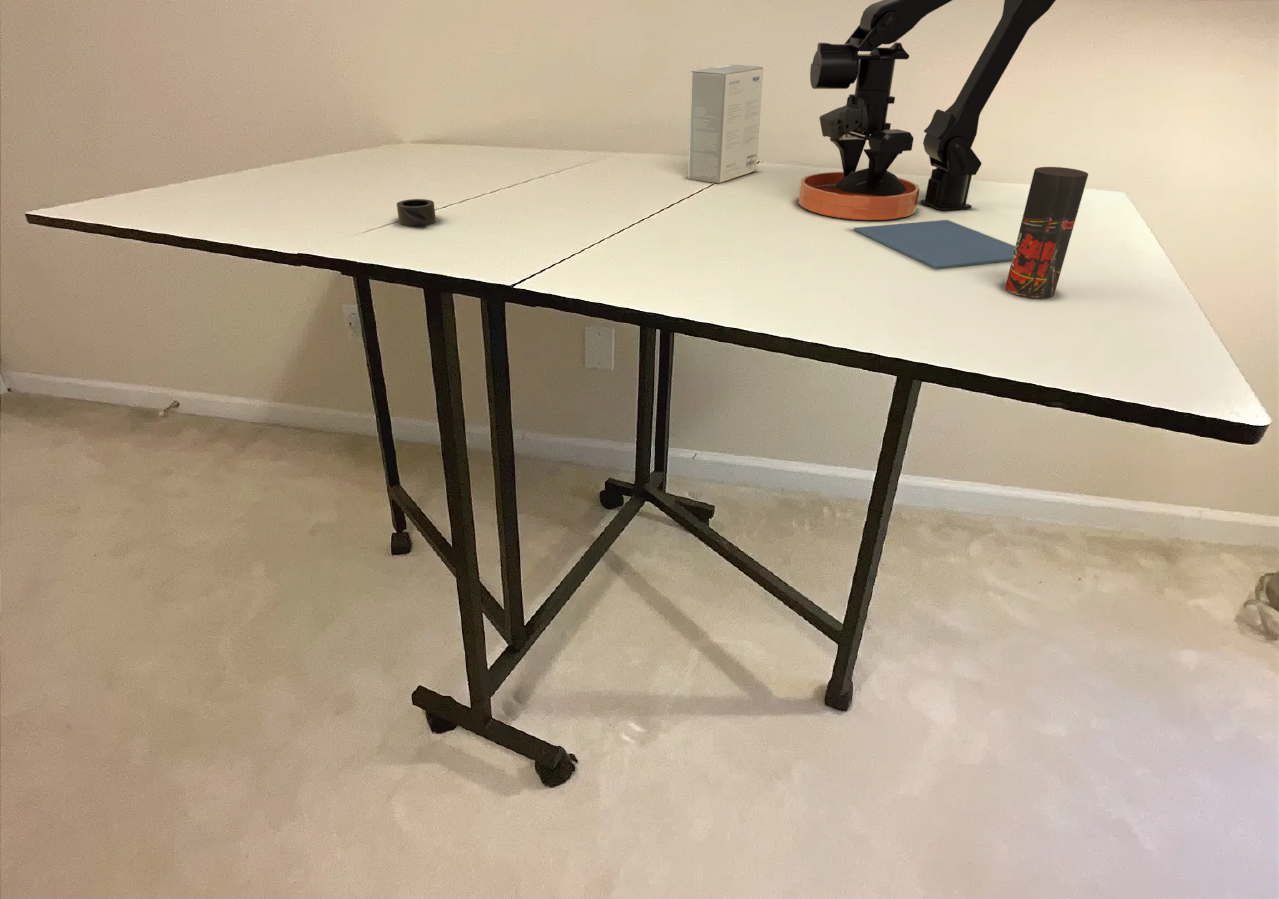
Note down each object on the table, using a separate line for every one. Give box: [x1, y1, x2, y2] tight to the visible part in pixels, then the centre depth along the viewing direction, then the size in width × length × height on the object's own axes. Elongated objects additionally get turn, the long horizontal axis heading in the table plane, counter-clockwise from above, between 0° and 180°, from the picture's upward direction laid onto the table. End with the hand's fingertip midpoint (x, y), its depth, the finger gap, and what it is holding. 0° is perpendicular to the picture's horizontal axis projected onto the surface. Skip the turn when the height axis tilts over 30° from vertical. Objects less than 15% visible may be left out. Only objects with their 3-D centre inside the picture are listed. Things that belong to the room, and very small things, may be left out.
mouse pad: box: [853, 219, 1016, 270], centre depth 124 cm, size 18×21×1 cm
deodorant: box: [1004, 166, 1089, 300], centre depth 101 cm, size 6×6×15 cm
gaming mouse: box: [819, 167, 906, 196], centre depth 141 cm, size 6×15×4 cm, turn 76°
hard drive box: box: [687, 64, 764, 184], centre depth 160 cm, size 16×8×20 cm, turn 144°
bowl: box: [798, 171, 921, 221], centre depth 142 cm, size 20×20×4 cm
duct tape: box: [396, 198, 437, 227], centre depth 130 cm, size 8×10×3 cm
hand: (858, 185), depth 141 cm, fingers closed on gaming mouse, 7 cm apart
